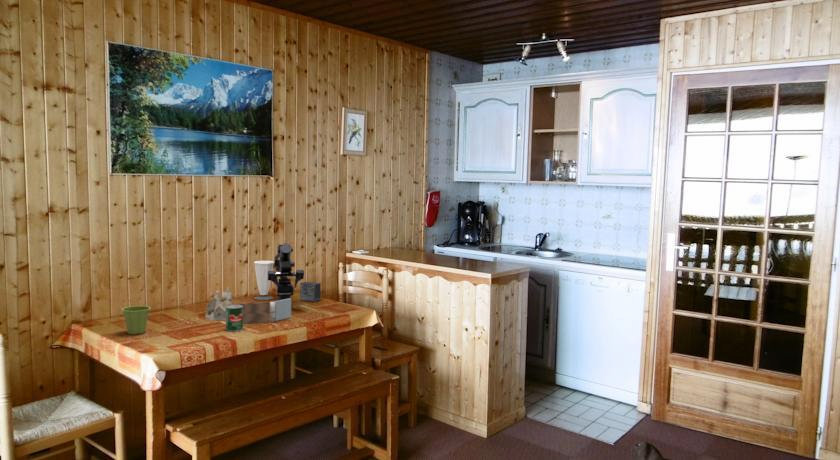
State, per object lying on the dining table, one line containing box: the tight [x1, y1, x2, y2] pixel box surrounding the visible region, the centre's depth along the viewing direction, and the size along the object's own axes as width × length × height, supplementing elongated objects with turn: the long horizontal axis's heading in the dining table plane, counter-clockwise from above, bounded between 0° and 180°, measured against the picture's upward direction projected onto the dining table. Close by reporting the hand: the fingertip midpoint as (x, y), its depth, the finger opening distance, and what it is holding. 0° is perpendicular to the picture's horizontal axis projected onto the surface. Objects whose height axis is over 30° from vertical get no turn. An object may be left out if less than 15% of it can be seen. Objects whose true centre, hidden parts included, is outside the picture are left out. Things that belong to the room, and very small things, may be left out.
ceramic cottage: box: [204, 287, 234, 322], centre depth 303 cm, size 16×16×15 cm
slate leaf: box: [269, 298, 292, 322], centre depth 299 cm, size 13×2×10 cm, turn 146°
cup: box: [253, 260, 275, 301], centre depth 352 cm, size 12×12×22 cm
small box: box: [299, 281, 322, 303], centre depth 348 cm, size 11×6×10 cm, turn 65°
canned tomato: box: [225, 304, 244, 332], centre depth 280 cm, size 8×8×11 cm
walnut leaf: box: [238, 301, 276, 325], centre depth 293 cm, size 17×2×10 cm, turn 106°
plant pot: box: [121, 305, 151, 335], centre depth 271 cm, size 12×12×11 cm
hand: (286, 288), depth 314 cm, fingers open, 8 cm apart
